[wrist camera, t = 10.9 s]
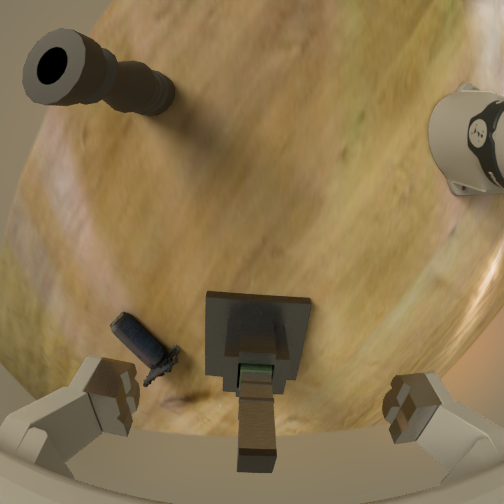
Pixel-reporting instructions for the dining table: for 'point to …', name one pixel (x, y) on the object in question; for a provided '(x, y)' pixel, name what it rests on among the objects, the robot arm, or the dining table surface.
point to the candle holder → (92, 76)
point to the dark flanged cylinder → (144, 346)
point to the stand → (254, 335)
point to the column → (256, 420)
